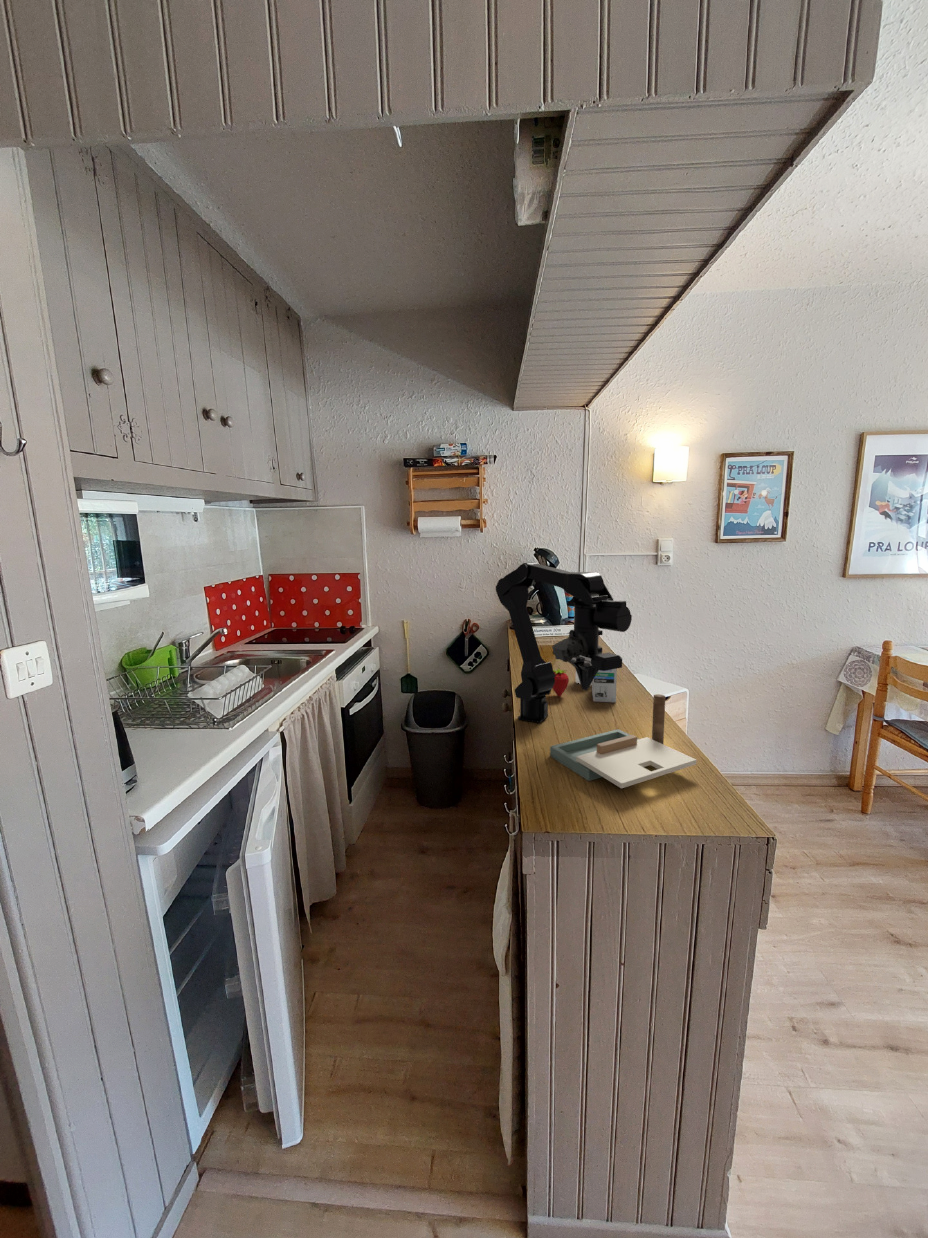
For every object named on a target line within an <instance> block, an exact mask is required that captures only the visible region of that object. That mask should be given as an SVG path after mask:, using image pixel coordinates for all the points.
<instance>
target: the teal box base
mask: <svg viewBox="0 0 928 1238" xmlns="http://www.w3.org/2000/svg"><path fill="white" fill-rule="evenodd" d="M629 735H631V734H630V733H627V732H625V731H623V730H621V729H619V728H617V729H613V730H610V731H605V732H601V733H597V734H594V735H590V736H586V737H581V738H577V739H574V740H573V739H572V740H570V741H566V742H562V743H557V744H553V745H550V747H549V748H550V749H549V751H550V752H549V755H550V758H552V759H553V760H555V761H557V762H558V763H560V764H561V765H563V766H565V767H566V768H568V769H569V770H570V771H572V772H574V773H576V774H577V775H579V776H581V777H582V778H583V779H585V780H586V781H588V782H590V781H593V780H597V779H601V778H603V777H602V776H600V775H599V774H597V773H595V772H594V771H592V770H590V769H589V768H587V767H586V766H584V765H582V764H581V763H579V762H577V761H576V756H579V755H583V754H587V753H590V752H594V751H597V744H599V743H603V742H607V741H610V740H614V739H618V738H622V737H626V736H629ZM638 739H639V738H638V737H637V740H638Z"/></svg>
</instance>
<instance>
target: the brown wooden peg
mask: <svg viewBox="0 0 928 1238" xmlns="http://www.w3.org/2000/svg"><path fill="white" fill-rule="evenodd" d="M652 700H653V702H652V704H653V706H652V725H651V726H652V728H651V732H652V734H651V739H652V740H654V741H657V742H659V743H661V744H663V745H664V743H665V742H664V738H665V719H666V718H665V716H666V711H665V710H666V695H664V694H658V693H657V694H653V699H652Z"/></svg>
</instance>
